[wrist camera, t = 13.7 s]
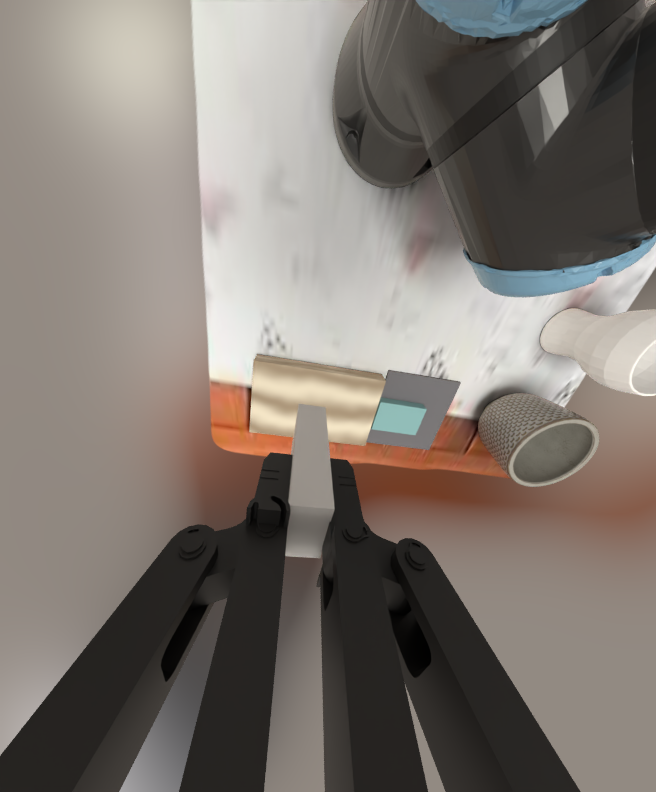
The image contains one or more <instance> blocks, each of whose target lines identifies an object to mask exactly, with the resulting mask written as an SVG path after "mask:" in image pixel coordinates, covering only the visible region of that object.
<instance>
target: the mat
mask: <svg viewBox="0 0 656 792" xmlns="http://www.w3.org/2000/svg"><path fill="white" fill-rule="evenodd" d="M460 383H461V382H458V381H452V380H446V379H440V378H434V377H427V376H421V375H415V374H409V373H403V372H397V371H391V370H388V373H387V377H386V383H385V386H384V389H383V392H382V395H381V397H382V398H388V399H394V400H401V401H407V402H413V403H420V404H423V405H424V406H425V408H426V409H427V410H426V412H425V415H424V417H423V419H422V421H421V424H420V426H419V428H418V431H417V433H416V435H409V434H402V433H395V432H388V431H381V430H373V429H370V432H369V435H368V438H367V441H366V442H369V443H377V444H385V445H393V446H402V447H410V448H418V449H426V450H429V449H430V446H431V444H432V442H433V440H434V438H435V436H436V434H437V432H438V430H439V428H440V425H441V423H442V421H443V419H444V417H445V415H446V413H447V411H448V409H449V406H450V404H451V402H452V400H453V398H454V396H455V394H456V392H457V390H458V388H459V385H460Z"/></svg>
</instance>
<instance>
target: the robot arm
mask: <svg viewBox="0 0 656 792" xmlns="http://www.w3.org/2000/svg"><path fill="white" fill-rule="evenodd" d="M333 119H334V126H335V131H336V136H337V139H338V142H339V145H340V148H341V150H342V152H343V154H344V156H345V158H346V160H347V162H348V163H349V165H350V166H351V167H352V169H353V170H354V171H355V172H356V173H357V174H358V175H359V176H360V177H362V178H363V179H364V180H366V181H367V182H369V183H371V184H373V185H375V186H379V187H383V188H398V187H403V186H406V185H409V184H411V183H413V182H415V181H417V180H418V179H420V178H421V177H423V176H424V175H425V174H426V173H428V172H429V171H430V170H431V169H433V168H434V169H433V170H434V172H435V175H436V178H437V180H438V183H439V185H440V188H441V190H442V193H443V195H444V198H445V200H446V203H447V206H448V208H449V211H450V213H451V216H452V218H453V221H454V223H455V226H456V228H457V231H458V234H459V236H460V239H461V241H462V244H463V246H464V249H463V252H464V255H465V258H466V259H467V261H468V262H469V263H470V264H471V265H472V267H473V269H474V271H475V274H476V276H477V278H478V280H479V282H480V283H481V285H482V286H483V287H485V288H487V289H488V290H489V291H491V292H493V293H495V294H498V295H502V296H507V297H535V296H543V295H550V294H555V293H560V292H564V291H568V290H572V289H576V288H579V287H582V286H585V285H588V284H591V283H593V282H595V281H596V279H597V277H599V276H609V275H613V274H615V273H618V272H620V271H622V270H623V269H625V268H627V267H629V266H631V265H632V264H634V263H635V262H637V261H638V260H639V259H640V258H642V257H643V256H644V255H645V254H646V253H648V252H649V251H650V249H651V248H652V247H653V246H654V244H655V242H656V3H654V4H653V5H651V6H650V7H646V6H645V0H368V1H367V3H366V4H365V6H364V7H363V8H362V10H361V11H360V12H359V14H358V15H357V17H356V18H355V20H354V21H353V23H352V25H351V27H350V29H349V31H348V33H347V36H346V38H345V40H344V43H343V46H342V49H341V52H340V55H339V59H338V63H337V68H336V74H335V81H334V89H333ZM321 553H322V557H323V564H322V568H321V571H320V574H319V577H318V581H317V587H321V588H320V590H321V591H320V592H321V634H322V635H321V637H322V678H323V679H322V681H323V725H324V726H323V727H324V772H325V792H428V789H427V785H426V780H425V775H424V771H423V766H422V762H421V757H420V752H419V748H418V743H417V739H416V734H415V729H414V725H413V721H412V716H411V711H410V706H409V702H408V697H407V693H406V688H405V684H406V687H407V690H408V692H409V695H410V698H411V700H412V703H413V706H414V709H415V711H416V714H417V716H418V719H419V722H420V725H421V727H422V730H423V732H424V735H425V738H426V741H427V743H428V746H429V748H430V751H431V754H432V757H433V759H434V762H435V764H436V767H437V770H438V772H439V775H440V778H441V780H442V783H443V786H444V789H445V791H446V792H580V790H579V789H578V787H577V785H576V784H575V782H574V781H573V779H572V778H571V776H570V774H569V773H568V771H567V769H566V768H565V766H564V765H563V763H562V761H561V760H560V758H559V757H558V755H557V754H556V752H555V750H554V749H553V747H552V746H551V744H550V742H549V741H548V739H547V737H546V736H545V734H544V732H543V731H542V729H541V728H540V726H539V724H538V723H537V721H536V720H535V718H534V717H533V715H532V713H531V712H530V710H529V708H528V707H527V705H526V704H525V702H524V701H523V699H522V697H521V695H520V694H519V692H518V691H517V689H516V687H515V686H514V684H513V683H512V681H511V679H510V678H509V676H508V675H507V673H506V671H505V670H504V668H503V667H502V665H501V663H500V662H499V660H498V659H497V657H496V655H495V654H494V652H493V651H492V649H491V647H490V646H489V644H488V642H487V641H486V639H485V638H484V636H483V634H482V633H481V631H480V630H479V628H478V626H477V625H476V623H475V622H474V620H473V618H472V617H471V615H470V614H469V612H468V610H467V609H466V607H465V606H464V604H463V602H462V601H461V599H460V598H459V596H458V594H457V593H456V591H455V590H454V588H453V586H452V585H451V583H450V582H449V580H448V578H447V577H446V575H445V574H444V572H443V570H442V569H441V567H440V565H439V564H438V562H437V561H436V559H435V557H434V556H433V554H432V553H431V552H430V551H429V549H428V548H427V547H426V546H425V545H423V544H422V543H421V542H419V541H417V540H414V539H412V538H409V539H408V538H405V539H403V540H400V541H399V543H398V544H396V543H393V542H391V541H388V540H386V539H383V538H381V537H379V536H377V535H376V534H374V533H373V532H372V531H371V530H370V528H369V526H368V525H367V524H366V523H365V522H364V519H363V516H362V511H361V506H360V501H359V496H358V491H357V488H356V481H355V476H354V471H353V468H352V466H351V465H350V463H349V462H348V461H347V460H341V459H332V458H330V452H329V441H328V430H327V419H326V408H325V407H320V406H312V405H305V404H299V405H298V411H297V417H296V423H295V430H294V436H293V442H292V451H291V455H289V454H280V453H270V454H269V455H268V456H267V457H266V458H265V459H264V462H263V466H262V470H261V474H260V479H259V482H258V486H257V491H256V495H255V498H254V499H252V500H251V501H250V503H249V505H248V507H247V515H246V519H245V520H244V521H243V522H242V523H240V524H238V525H237V526H234V527H231V528H228V529H224V530H220V531H214V529H212V528H210V527H209V526H207V525H194V526H189V527H187V528H185V529H183V530H182V531H180V532H178V533H177V534H176V535H175V536H174V537H173V538H172V539H171V540H170V542H169V543H168V544H167V545H166V547H165V548H164V549H163V550H162V552H161V553H160V554H159V555H158V557H157V558H156V559H155V561H154V562H153V563H152V564H151V566H150V567H149V568H148V569H147V571H146V572H145V573H144V575H143V576H142V577H141V578H140V580H139V581H138V582H137V583H136V585H135V586H134V587H133V588H132V590H131V591H130V592H129V593H128V595H127V596H126V597H125V599H124V600H123V601H122V602H121V604H120V605H119V606H118V607H117V609H116V610H115V611H114V613H113V614H112V615H111V616H110V618H109V619H108V620H107V621H106V623H105V624H104V625H103V626H102V628H101V629H100V630H99V632H98V633H97V634H96V635H95V637H94V638H93V639H92V640H91V642H90V643H89V644H88V645H87V647H86V648H85V649H84V650H83V652H82V653H81V654H80V656H79V657H78V658H77V660H76V661H75V662H74V663H73V664H72V666H71V667H70V668H69V670H68V671H67V672H66V673H65V675H64V676H63V677H62V678H61V680H60V681H59V682H58V684H57V685H56V686H55V687H54V688H53V690H52V691H51V692H50V694H49V695H48V696H47V697H46V699H45V700H44V701H43V702H42V704H41V705H40V706H39V708H38V709H37V710H36V711H35V713H34V714H33V715H32V716H31V718H30V719H29V720H28V721H27V723H26V724H25V725H24V726H23V728H22V729H21V730H20V732H19V733H18V734H17V735H16V737H15V738H14V739H13V740H12V742H11V743H10V744H9V746H8V747H7V748H6V749H5V750H4V752H3V753H2V754H1V756H0V792H119V791H120V789H121V787H122V785H123V783H124V781H125V779H126V777H127V775H128V773H129V771H130V769H131V767H132V765H133V763H134V761H135V759H136V757H137V755H138V753H139V751H140V749H141V747H142V745H143V743H144V741H145V739H146V737H147V735H148V733H149V731H150V729H151V727H152V725H153V723H154V721H155V719H156V717H157V715H158V713H159V711H160V709H161V707H162V705H163V703H164V701H165V699H166V697H167V695H168V693H169V691H170V689H171V687H172V686H173V684H174V682H175V680H176V678H177V676H178V674H179V672H180V669H181V668H182V666H183V664H184V662H185V660H186V658H187V656H188V654H189V652H190V650H191V648H192V646H193V644H194V642H195V640H196V638H197V636H198V634H199V632H200V630H201V628H202V626H203V624H204V622H205V620H206V618H207V616H208V614H209V612H210V610H211V608H212V606H213V604H214V602H216V601H219V600H222V599H225V598H228V599H227V603H226V606H225V610H224V614H223V619H222V622H221V626H220V630H219V634H218V638H217V643H216V646H215V650H214V654H213V658H212V662H211V666H210V670H209V674H208V678H207V682H206V686H205V691H204V694H203V698H202V702H201V706H200V710H199V714H198V718H197V722H196V726H195V730H194V734H193V738H192V742H191V746H190V750H189V754H188V758H187V762H186V766H185V770H184V774H183V778H182V782H181V786H180V790H179V792H264V783H265V772H266V761H267V750H268V739H269V727H270V717H271V705H272V694H273V684H274V673H275V662H276V650H277V640H278V629H279V618H280V606H281V595H282V585H283V574H284V562H285V556H294V557H312V558H320V556H321ZM404 682H405V683H404Z"/></svg>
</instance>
